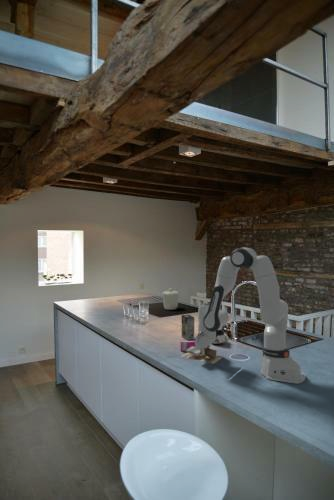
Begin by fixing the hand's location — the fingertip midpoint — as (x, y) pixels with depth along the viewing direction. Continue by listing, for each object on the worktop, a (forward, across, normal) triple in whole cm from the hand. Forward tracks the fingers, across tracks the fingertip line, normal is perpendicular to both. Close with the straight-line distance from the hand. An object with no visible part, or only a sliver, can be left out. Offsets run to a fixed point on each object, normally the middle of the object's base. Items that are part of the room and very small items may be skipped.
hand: (205, 353), depth 204 cm
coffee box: (+4, +31, +31) cm, 44 cm away
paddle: (+1, 0, +2) cm, 3 cm away
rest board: (+4, 0, +3) cm, 4 cm away
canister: (+4, +108, +98) cm, 146 cm away
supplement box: (0, +10, +11) cm, 15 cm away
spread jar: (+4, +33, +7) cm, 34 cm away
